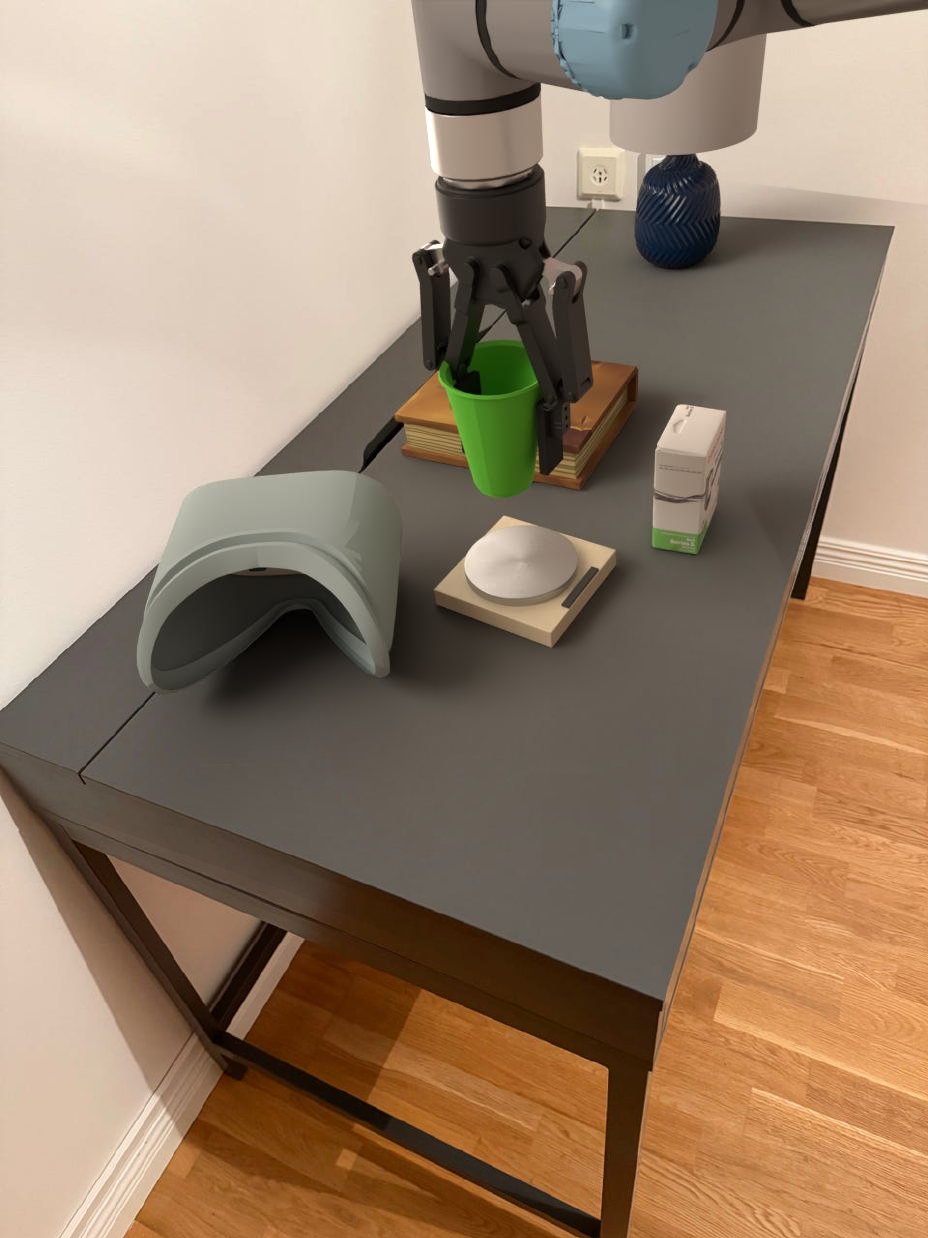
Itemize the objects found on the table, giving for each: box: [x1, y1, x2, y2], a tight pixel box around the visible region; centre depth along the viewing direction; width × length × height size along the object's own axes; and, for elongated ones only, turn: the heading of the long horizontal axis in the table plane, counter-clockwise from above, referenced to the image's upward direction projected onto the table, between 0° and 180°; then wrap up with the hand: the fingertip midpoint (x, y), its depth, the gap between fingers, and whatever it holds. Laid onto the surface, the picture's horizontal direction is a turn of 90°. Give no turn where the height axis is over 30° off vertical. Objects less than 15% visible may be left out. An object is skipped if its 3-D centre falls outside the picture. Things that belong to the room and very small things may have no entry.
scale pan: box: [464, 525, 578, 606], centre depth 87 cm, size 11×11×1 cm
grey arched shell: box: [136, 469, 403, 695], centre depth 82 cm, size 22×19×13 cm
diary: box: [394, 359, 639, 491], centre depth 107 cm, size 23×19×6 cm
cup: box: [438, 339, 543, 499], centre depth 74 cm, size 9×9×11 cm
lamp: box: [609, 34, 768, 269], centre depth 127 cm, size 20×20×37 cm
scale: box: [433, 515, 617, 649], centre depth 88 cm, size 13×13×2 cm
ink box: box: [651, 404, 727, 555], centre depth 88 cm, size 9×5×12 cm, turn 156°
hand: (512, 455), depth 76 cm, fingers closed on cup, 7 cm apart
